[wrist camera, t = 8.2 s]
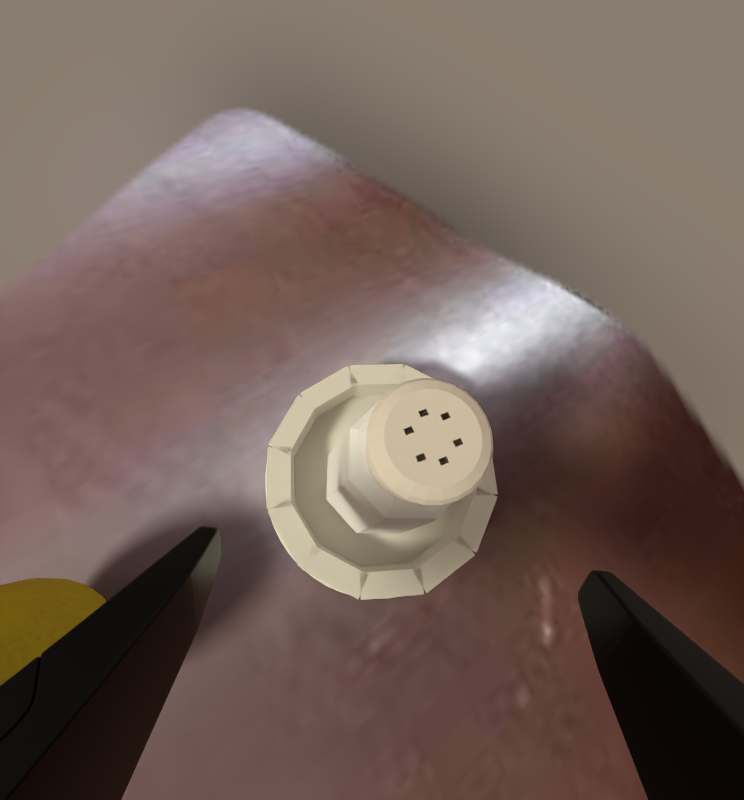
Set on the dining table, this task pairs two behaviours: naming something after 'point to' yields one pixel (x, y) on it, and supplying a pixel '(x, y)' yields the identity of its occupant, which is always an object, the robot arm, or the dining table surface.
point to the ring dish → (327, 531)
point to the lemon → (39, 618)
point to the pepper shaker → (409, 457)
